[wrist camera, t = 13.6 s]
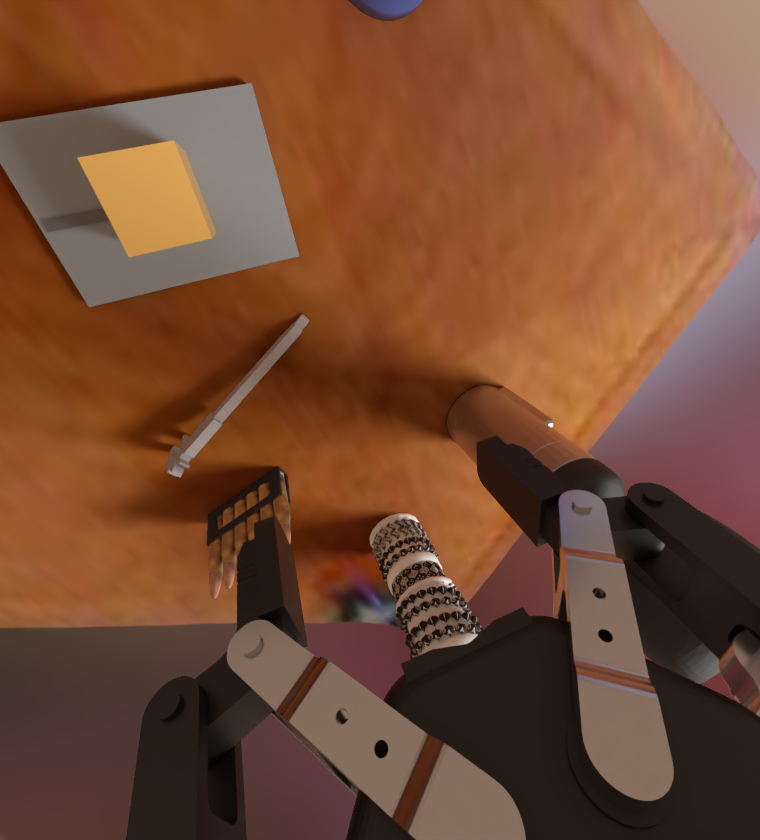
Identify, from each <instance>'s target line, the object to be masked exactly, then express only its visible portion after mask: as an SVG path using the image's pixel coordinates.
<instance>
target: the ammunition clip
mask: <svg viewBox="0 0 760 840" xmlns="http://www.w3.org/2000/svg"><path fill="white" fill-rule="evenodd" d="M289 503H290V494H289V485H288V477H287V474H286V473H285V472H284V471H283V470H282V469H281V468H280V467H276V468H275V469H273V470H272V471H270V472H269V473H268V474H266V475H265V476H263V477H262V478H260V479H259V480H257V481H256V482H255V483H253V484H252V485H250V486H249V487H247V488H246V489H245V490H243V491H242V492H240V493H239V494H237V495H236V496H234V497H233V498H232V499H230V500H229V501H227V502H226V503H224V504H223V505H222V506H220V507H219V508H217V509H216V510H214V511H213V512H212V513H210V514H209V515H208V530H207V546H209V544H210V547H209V560H208V566H209V588H210V593H211V596H212V598H213V599H216V597H217V595H218V593H219V590H220V586H221V580H222V572H223V578H224V583H225V586H226V588H227V589H228V590H229V589H230V588H231V586H232V584H233V580H234V576H235V566H236V558H237V557H238V554H239V552H240V550H241V547H242V545H243V543H244V542H247V541H250V540H252V539H254V523H255V522H258V521H261V520H263V519H266V518H269V517H272V516H274V515H275V516H276V517H277V519H278V521H279V523H280V525H281V527H282V529H283V531H284V533H285V535H286V537H287V539H288V541H289V544H290V542H291V530H290V510H289Z"/></svg>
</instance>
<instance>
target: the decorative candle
mask: <svg viewBox="0 0 760 840" xmlns="http://www.w3.org/2000/svg"><path fill="white" fill-rule="evenodd" d="M369 538H370V546H371V547H372V548H373V550H372V552H373V553H375V554H376V555H375V557H376V558H375V561H379V563H378V565H379V566H380V567H379V570H380V571H381V572H382V574H383V580H384V581H386V584H387V585H388V586H389V589H390V592H391V593H392V594H393V595H394V597H395V600H396V603H397V604H396V613H397V614H396V617H397V618H399V619H400V621H401V630H403V631H405V633H407V634H408V635H407V636H406V646H408V647H409V648H410V649H411V655H410V657H411V659H413V658H415V657H417V656H419V655H421V654H423V653H426V652H428V651H430V650H432V649H438V648H444V647H451V646H457V645H464V644H468V643H470V642H471V641H472V640H473V639H474V638H475V637H477V636H478V635H479V634H480V633H481V632H482V631H483V629H482V628H481V624H480V623H478V620H477V618H476V617H475V616H471V615H470V614H471V609H470V608H468V607H467V603H466V602H465V599H464V598H462V594H461V592H459V591H456V588H457V587H456V586H454V584H453V582H452V581H451V579H449V578H446V576H445V574H444V572H443V571H442V566H441V565H440V563H439V561H438V559H437V558H438V554H437V553H435V552H436V551H435V549H434V548H433V546H432V545H431V542H430V541H429V539H428V536H427V535H426V533H425V531H424V529H423V528H422V526H421V524H420V523H419V522H418V520H417V519H416V517H415V516H413V515H411V514H409V513H397V514H394V515H390V516H388V517H386V518H385V519H383V520H381V521H380V522H379V523H378V524H377V525H376V526H375V527H374V528H373V530H372V532H371V534H370V537H369ZM464 611H465V612H464ZM470 622H472V623H473V624H470Z"/></svg>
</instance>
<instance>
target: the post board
mask: <svg viewBox="0 0 760 840" xmlns="http://www.w3.org/2000/svg"><path fill="white" fill-rule="evenodd" d="M173 140H174V141H175V142H176V143H177V144H178V145H179V146H180V147H181V148H182V149H183V150H184V151H185V152H186V155H187V157H188V160H189V163H190V165H191V168H192V170H193V173H194V176H195V178H196V181H197V183H198V186H199V189H200V191H201V194H202V196H203V199H204V202H205V204H206V207H207V209H208V212H209V215H210V217H211V220H212V223H213V225H214V228H215V230H216V234H215V235H214V237H213V238H212V239H207V240H203V241H199V242H194V243H190V244H185V245H181V246H177V247H172V248H168V249H164V250H159V251H155V252H151V253H146V254H142V255H138V256H133V257H128V255H127V253H126V251H125V249H124V247H123V245H122V243H121V241H120V239H119V237H118V236H117V234H116V232H115V230H114V228H113V226H112V224H111V222H110V220H109V218H108V216H107V214H106V213H105V211H104V209H103V207H102V205H101V203H100V201H99V199H98V197H97V195H96V193H95V191H94V189H93V188H92V186H91V184H90V182H89V180H88V178H87V176H86V174H85V172H84V170H83V168H82V166H81V165H80V163H79V161H78V159H77V158H79V157H84V156H90V155H95V154H101V153H106V152H112V151H117V150H123V149H128V148H134V147H139V146H145V145H151V144H156V143H162V142H167V141H173ZM0 164H1V166H2V167H3V169H4V170H5V172H6V174H7V175H8V177H9V179H10V180H11V182H12V183H13V185H14V187H15V188H16V190H17V192H18V193H19V195H20V196H21V198H22V200H23V201H24V203H25V204H26V206H27V208H28V209H29V211H30V213H31V214H32V216H33V217H34V219H35V221H36V222H37V224H38V226H39V227H40V229H41V230H42V232H43V234H44V235H45V237H46V239H47V240H48V242H49V243H50V245H51V247H52V248H53V250H54V252H55V253H56V255H57V256H58V258H59V260H60V261H61V263H62V264H63V266H64V268H65V269H66V271H67V273H68V274H69V276H70V277H71V279H72V281H73V282H74V284H75V286H76V287H77V289H78V290H79V292H80V294H81V295H82V297H83V299H84V300H85V302H86V303H87V305H88V307H93V306H97V305H101V304H105V303H109V302H113V301H117V300H122V299H126V298H130V297H134V296H138V295H142V294H146V293H150V292H154V291H158V290H163V289H167V288H171V287H175V286H179V285H183V284H187V283H191V282H195V281H199V280H204V279H208V278H212V277H216V276H220V275H224V274H228V273H232V272H236V271H240V270H245V269H249V268H253V267H257V266H261V265H265V264H269V263H273V262H277V261H281V260H286V259H290V258H294V257H298V256H299V253H298V249H297V246H296V242H295V239H294V235H293V231H292V228H291V224H290V220H289V217H288V213H287V210H286V206H285V202H284V199H283V195H282V191H281V188H280V184H279V181H278V177H277V173H276V170H275V166H274V163H273V159H272V155H271V152H270V148H269V144H268V141H267V137H266V134H265V130H264V126H263V123H262V119H261V116H260V112H259V108H258V105H257V101H256V97H255V94H254V90H253V87H252V83H249V84H243V85H236V86H230V87H224V88H217V89H211V90H204V91H198V92H191V93H185V94H179V95H172V96H166V97H159V98H153V99H146V100H140V101H134V102H127V103H121V104H114V105H108V106H102V107H95V108H89V109H82V110H76V111H69V112H63V113H57V114H50V115H44V116H37V117H31V118H24V119H18V120H12V121H5V122H0Z"/></svg>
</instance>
